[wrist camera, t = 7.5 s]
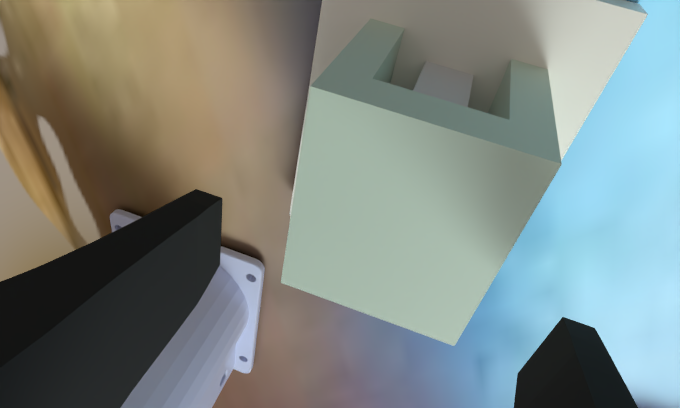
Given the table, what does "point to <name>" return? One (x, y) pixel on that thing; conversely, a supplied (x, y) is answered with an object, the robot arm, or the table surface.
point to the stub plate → (492, 47)
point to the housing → (414, 188)
